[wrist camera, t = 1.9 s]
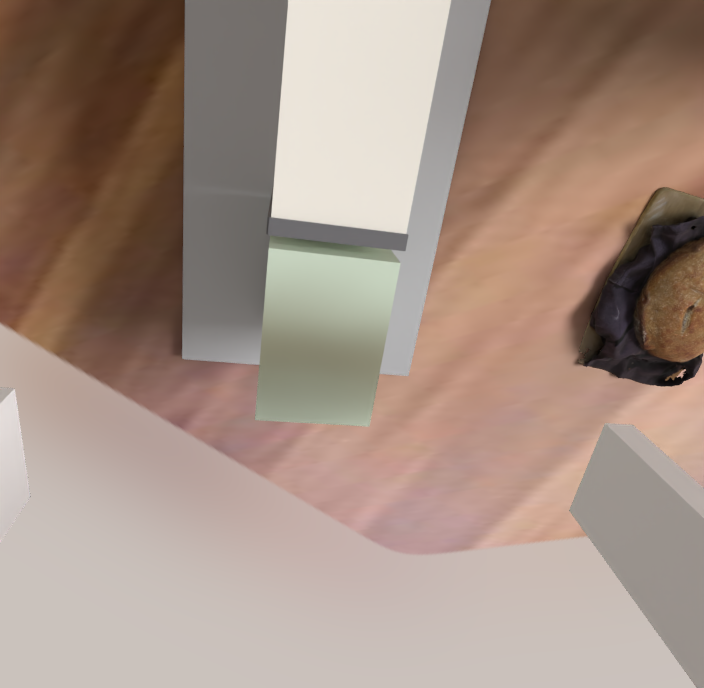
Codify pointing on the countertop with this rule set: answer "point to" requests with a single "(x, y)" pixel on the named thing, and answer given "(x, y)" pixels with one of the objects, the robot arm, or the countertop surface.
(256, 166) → the block
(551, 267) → the countertop surface
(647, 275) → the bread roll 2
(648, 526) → the robot arm
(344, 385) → the pale green block
